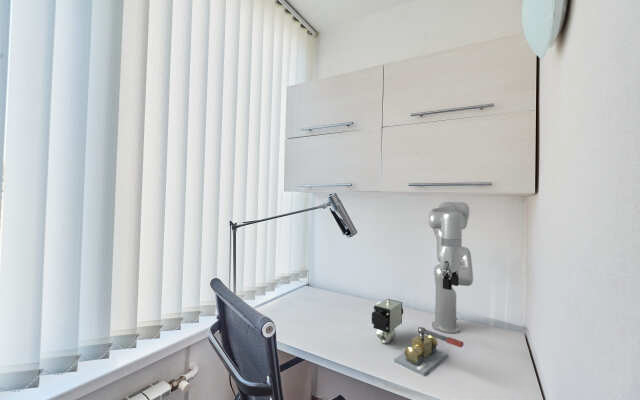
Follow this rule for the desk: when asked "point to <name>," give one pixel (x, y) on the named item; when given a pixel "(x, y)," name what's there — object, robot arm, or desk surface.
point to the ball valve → (387, 319)
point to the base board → (427, 362)
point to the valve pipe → (420, 348)
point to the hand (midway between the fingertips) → (450, 286)
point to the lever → (441, 337)
